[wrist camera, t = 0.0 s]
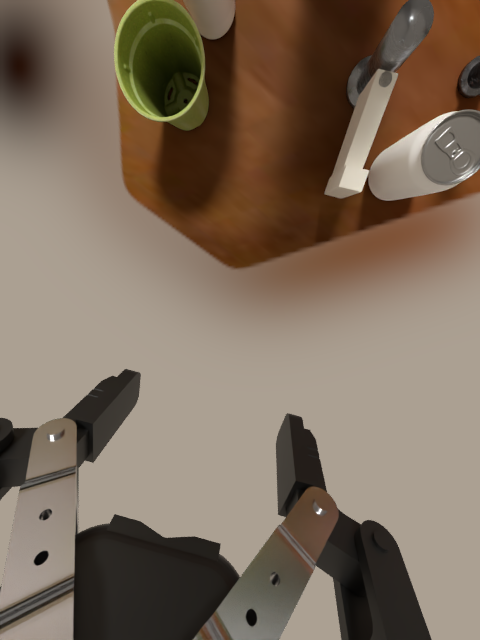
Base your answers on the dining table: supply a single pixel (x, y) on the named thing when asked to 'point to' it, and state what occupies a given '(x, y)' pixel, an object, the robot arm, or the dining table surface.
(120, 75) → the plant pot
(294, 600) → the robot arm
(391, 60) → the hinge post
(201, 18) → the white tapered cup
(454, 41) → the dining table surface
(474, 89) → the post
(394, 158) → the can
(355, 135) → the gate
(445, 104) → the dining table surface
